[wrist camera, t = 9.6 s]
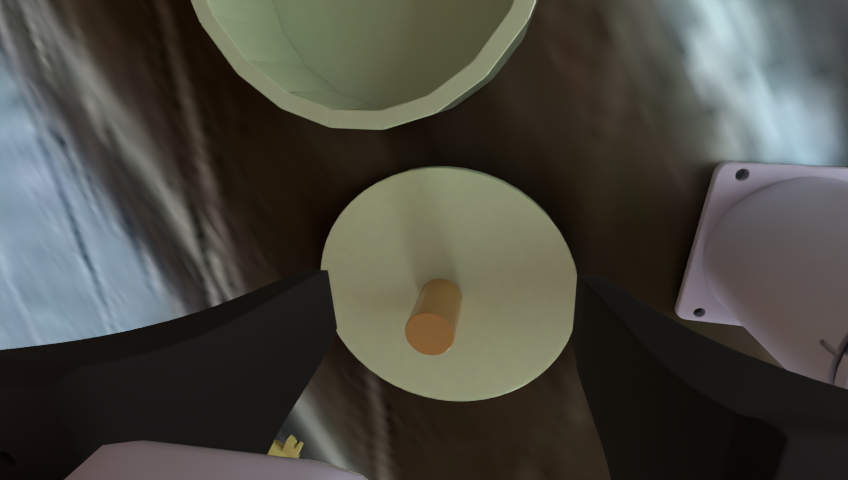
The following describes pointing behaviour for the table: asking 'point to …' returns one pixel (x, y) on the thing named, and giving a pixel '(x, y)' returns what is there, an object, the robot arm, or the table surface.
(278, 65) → the tin
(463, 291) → the lid
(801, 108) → the table surface
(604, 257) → the table surface
